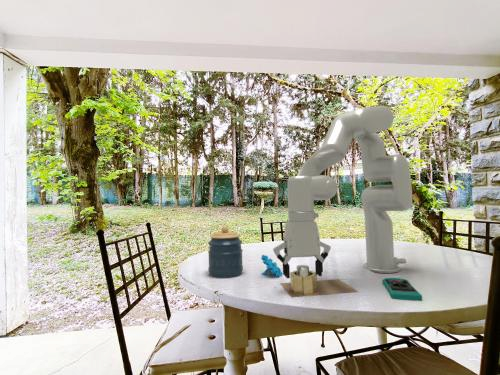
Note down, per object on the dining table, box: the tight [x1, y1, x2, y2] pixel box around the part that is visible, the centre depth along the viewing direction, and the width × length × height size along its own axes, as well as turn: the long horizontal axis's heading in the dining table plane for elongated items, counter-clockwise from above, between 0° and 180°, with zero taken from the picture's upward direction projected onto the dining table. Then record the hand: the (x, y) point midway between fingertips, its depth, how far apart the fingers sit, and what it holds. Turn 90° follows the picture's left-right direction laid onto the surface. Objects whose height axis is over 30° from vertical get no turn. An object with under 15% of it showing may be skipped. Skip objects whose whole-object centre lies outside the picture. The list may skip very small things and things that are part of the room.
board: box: [279, 278, 360, 298], centre depth 85 cm, size 20×13×1 cm, turn 99°
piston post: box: [296, 264, 310, 276], centre depth 83 cm, size 4×4×7 cm
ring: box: [289, 270, 318, 295], centre depth 83 cm, size 7×7×5 cm
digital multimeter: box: [382, 277, 423, 302], centre depth 80 cm, size 7×15×3 cm, turn 164°
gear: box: [260, 254, 284, 278], centre depth 101 cm, size 11×6×10 cm
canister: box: [207, 225, 244, 279], centre depth 106 cm, size 13×13×18 cm
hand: (303, 276), depth 83 cm, fingers open, 9 cm apart
